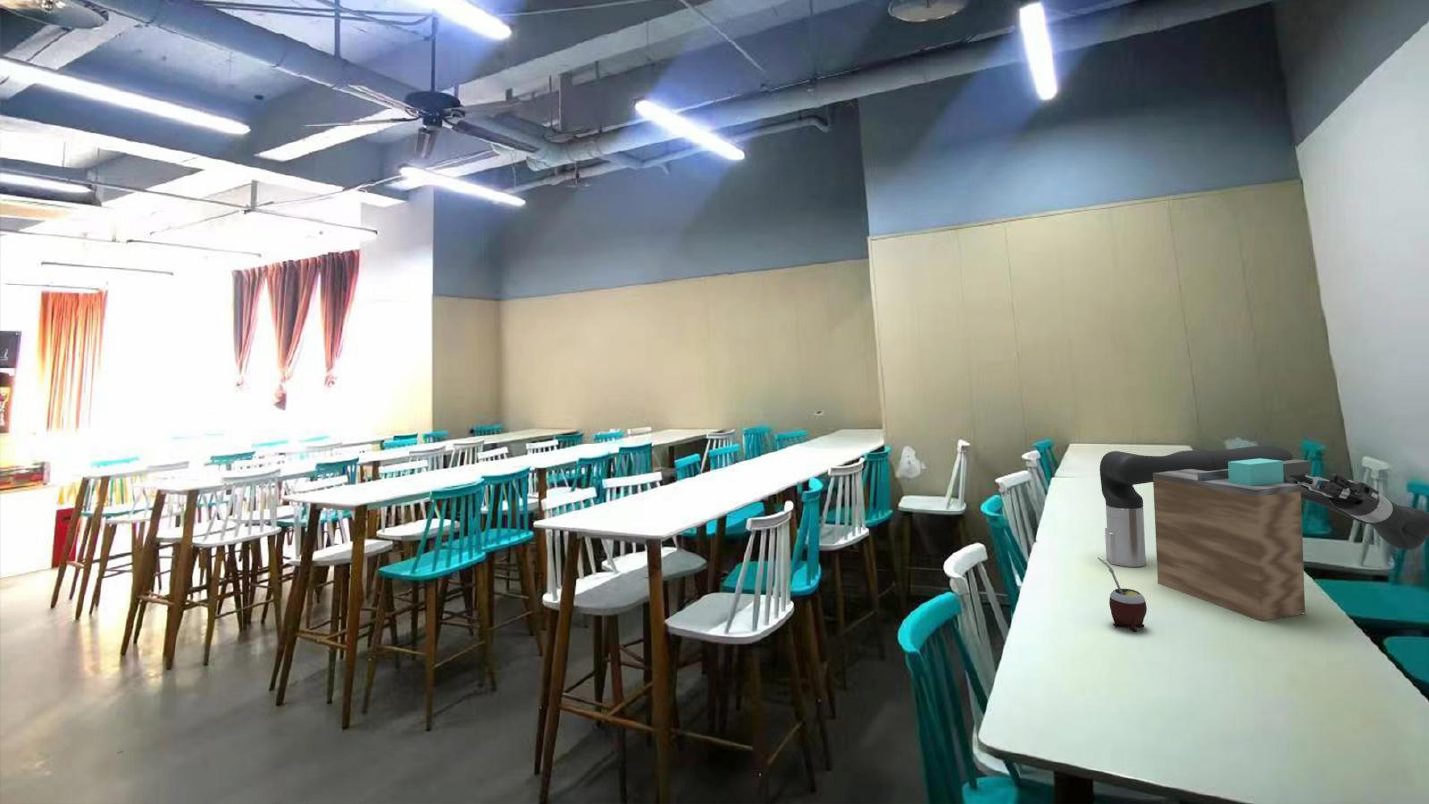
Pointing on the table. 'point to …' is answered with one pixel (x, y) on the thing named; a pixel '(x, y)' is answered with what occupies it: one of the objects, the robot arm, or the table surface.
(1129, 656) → the table surface
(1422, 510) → the robot arm
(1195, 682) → the table surface
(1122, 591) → the mate gourd
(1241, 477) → the block
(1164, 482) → the cabinet
